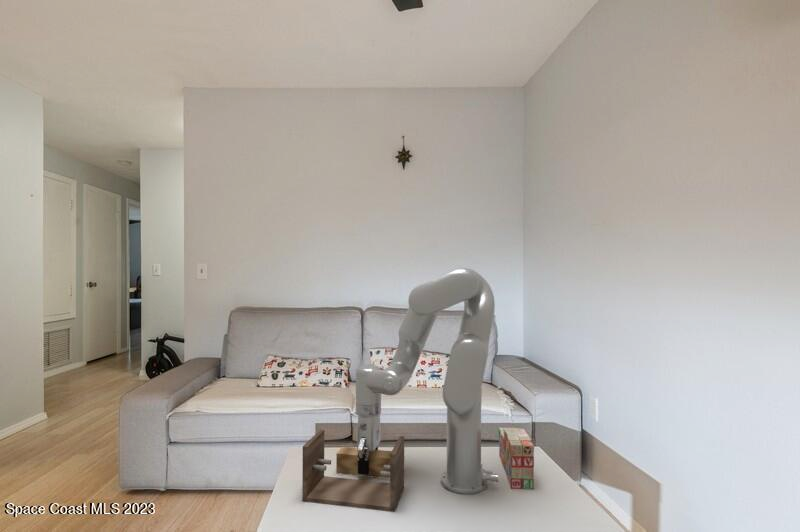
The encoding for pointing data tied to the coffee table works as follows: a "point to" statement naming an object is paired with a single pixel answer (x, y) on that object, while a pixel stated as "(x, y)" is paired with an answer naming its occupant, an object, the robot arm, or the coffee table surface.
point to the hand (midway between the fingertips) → (368, 466)
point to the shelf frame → (351, 480)
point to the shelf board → (349, 461)
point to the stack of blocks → (517, 457)
